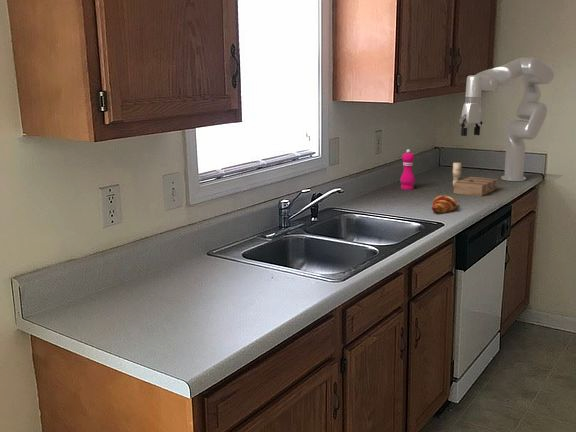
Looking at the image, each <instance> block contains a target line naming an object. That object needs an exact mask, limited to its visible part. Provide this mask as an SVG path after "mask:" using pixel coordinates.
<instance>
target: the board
mask: <svg viewBox="0 0 576 432" xmlns="http://www.w3.org/2000/svg"><path fill="white" fill-rule="evenodd" d="M497 189H498V179H497V178H490V177H489V178H487V177H478V176H477V177H476V176H475V177H474V176H469V177H465V178H463V179H460V181H458V182H455V183H454V186H453V194H459V195H469V196H475V197H483V196H485V195H488V194H489V193H491V192H494V191H495V190H496V191H497Z"/></svg>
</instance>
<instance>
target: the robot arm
mask: <svg viewBox="0 0 576 432" xmlns="http://www.w3.org/2000/svg"><path fill="white" fill-rule="evenodd" d="M554 74H555V73H554V70H553V69H552V68H551V67H550V66H549V65H547V64H546V63H544V62H543V61H542V60H540V59H539V58H536V57H520V58H516V59H514V60H512V61H510V62H507V63H505V64H503V65H499V66H496V67H493V68H489V69H485V70H483V71H480V72H478V73H476V74H474V75H468V76H467V77H466V86H465V100H464V101H465V102H464V103H463V106H462V110H461V115H460V116H461V117H460V118H459V119H458V121H459V126H460V128H461V130H460V131H461V132H460V136H461V137H467V136H468V127H469V125H474V128H473V135H474V136H480V135H481V127H482V124H483V122H484V117H483V116H482V103H481V102H482V91H485V92H486V91H488V92H489V91H493V90H495V89H496V88H497V87H498V84H500V83H502V84H503V83H505V82H506V83H507V82H510V81H512V80H514V79H517V78H518V77H520V76H521V80H522V84H523V86H524V92H523V94H522V98H521V100H520V102H519V104H518V105H517V108H516V111H515V116H516V117H517V118H518V119H512V120H511V119H510V120H509V121H507V123H506V125H505V127H504V131H505V141H506V143H505V146H506V147H505V158H504V159H505V161H504V175H501V177H500V179H501V180H502V181H507V182H523V181H526V180H527V177H526V176H524V171H525V156H526V155H525V154H526V153H525V152H526V145H525V141H524V140H528V141H529V140H534V139H536V138H537V136H538V135H539V133H540V130H542V129H541V128H542V127H543V124H544V122H545V120H546V118H547V114H548V107H547V105H546V104H545V103H544V102H541V101H540V100H541V97H542V96H541V95H542V94H541V89H540V87H539V85H548V84H550V83H551V82H552V81H553V80H554V78H555V76H554Z"/></svg>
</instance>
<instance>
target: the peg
mask: <svg viewBox="0 0 576 432" xmlns="http://www.w3.org/2000/svg"><path fill="white" fill-rule="evenodd" d="M461 177H462V162H457V161H456V162H453V163H452V187H454V183H455V182H458V181H460V180H461Z"/></svg>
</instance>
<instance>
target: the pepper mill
mask: <svg viewBox="0 0 576 432" xmlns="http://www.w3.org/2000/svg"><path fill="white" fill-rule="evenodd" d="M401 159H402V161H403V162H402V166H403V172H402V173H401V176H400V180H399V181H400V183H401V185H400V188H401V190H405V191H407V190H408V191H410V190H414V188H415V187H414V186H415V185H414V183H415V182H416V179H415V175H414V173H413V168H412V167H413V165H414V162H413V161H414V159H415V154H413V153H412V152H411V150H410V149H406V152H404V153H403V154H402V155H401Z"/></svg>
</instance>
